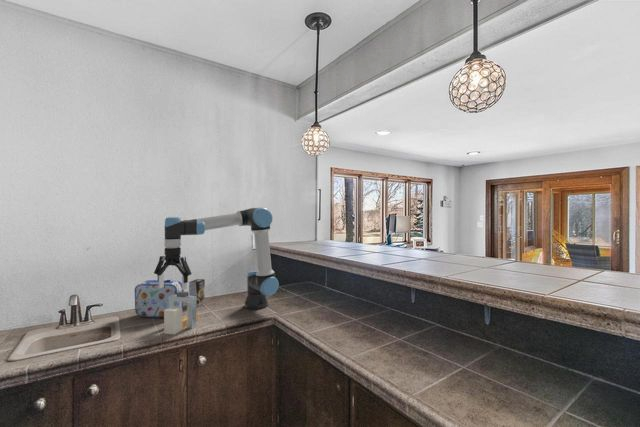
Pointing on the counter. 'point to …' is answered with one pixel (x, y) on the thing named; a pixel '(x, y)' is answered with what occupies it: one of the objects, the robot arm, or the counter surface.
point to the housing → (191, 306)
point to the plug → (174, 320)
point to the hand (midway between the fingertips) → (172, 288)
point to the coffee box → (197, 290)
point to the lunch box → (155, 297)
